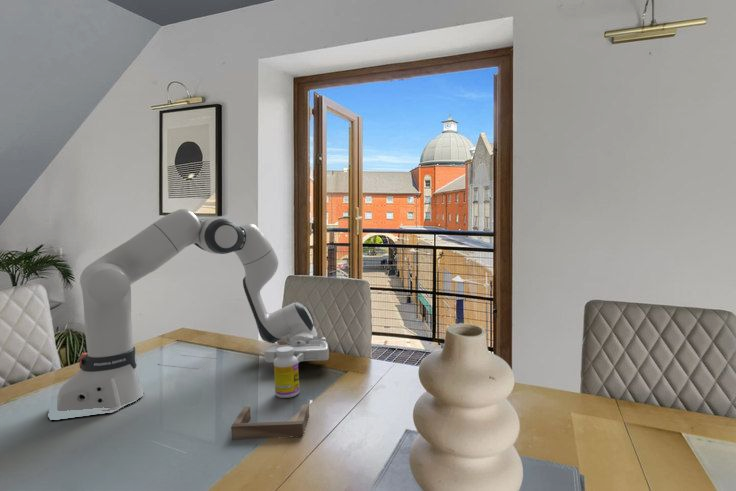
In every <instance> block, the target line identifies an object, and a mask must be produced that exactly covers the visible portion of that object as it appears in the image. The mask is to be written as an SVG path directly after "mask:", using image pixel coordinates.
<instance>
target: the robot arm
mask: <svg viewBox="0 0 736 491" xmlns="http://www.w3.org/2000/svg"><path fill="white" fill-rule="evenodd" d="M191 245H195V246H196V247H197V248H199V249H200V250H203V251H206V252H208V253H209V254H210V253H211V254H216V255H217V254H219V255H227V254H230V253H233V252H234V253H235V255H236V256H238V259H239V260H240V262H241V264H242V266H243V268H244V273H245V275H244V277H243V279H242V287H243V290H244V293H245V296H246V299H247V302H248V304H249V307H250V310H251V313H252V315H253V318H254V320H255V324H256V326H257V329H258V330H257V331H258V334H259V336H260V338H261V340H262V341H264V342H266V343H270V344H274V345H271V346H268V348H266V350H265V351H264V352H263V353H264V361H265V363H274V360H275V359H276V358H277V357H278V355H277V349H278V348H280V347H285V346H289V347H293V348H294V353H293V356H295V357H296V358H297V359H298V364H300V363H302V362H315V361H316V362H318V361H319V362H320V361H327V360H329V356H330V355H329V354H330V352H329V343H328V342H327V339H326V337H325V336H318V332H317V329H316V327H315V325H314V324H315V320H314V317H313V315H312V313H311V311H310V309H309V308H308V306H307V305H305V304H303V303H301V302H298V301H294V302H291V303H290V304H287V305H286V306H284V307H282V308H279V309H278V310H275V311H274V312H273V311H272V312H268V311H267V309H266V306H265V304H264V302H263V298H262V296H261V290H262V289H263V288H264V286H265V285H266V284H268V282H269V281H270V280H271V279H272V278H273V276H274V275H275V274H276V272H277V270H278V268H279V260H278V256H277V253H276V252H275V250H274V248H273V247H272V244H271V243H270V241H269V240H268V238H267V236H266V235H265V234H264V232H262V230H261V229H260V228H259V226H257V225H256V224H254V223H244V224H242V225H241V224H240V225H239V224H237V223H235V222H234V221H232V220H230V219H227V218H219V217H210V218H202V219H200V218H199V217H198V216H197V215H196V214H195V213H194V212H193V211H191V210H189V209H186V208H180V209H177V210H175V211H172V212H170V213H168V214H166V215H164V216H162V217H161V218H159V219H158V220H156V221H155V222H153V223H151V224H150V225H149V226H147V227H145V228H144V229H143V230H141V231H140V232H138V233H137V234H136V235H134V236H133V237H131V238H130V239H128V240H127V241H125V242H123V243H122V244H120V245H119V246H117V247H115V248H114V249H112V250H110V251H108V252H107V253H106V254H104V255H102V256H101V257H99V258H97V259H96V260H94V261H93V262H91V263H90V264H88V265H86V267H85V268H84V269H83V271H82V272H81V275H80V278H79V284H80V288H81V292H82V301H83V302H82V303H83V304H82V305H83V315H84V317H83V318H84V331H85V332H84V333H85V341H86V350H87V351H86V352H83V353H81V355H80V356H79V360H78V364H79V365H78V366H79V370H78V371H77V372H76V373H75V374H73V376H71V377H70V378H69V379H68V380H67V381H66V382H64V383H63V384H62V385H61V387H60V389H59V390H58V394H57V399H56V402H57V410H58V411H67V410H69V411H70V410H83V409H93V408H103V407H104V408H110V409H108V410H102V411H110V410H115V409H117V408H119V407H120V406H122V405H124V404H127V403H129V402H132V401H134V400H137V399H138V398H140V397H141V396H142V395H143V392H144V390H143V388H142V385H141V382H140V379H139V375H138V370H137V365H138V358H137V351H136V347H135V346H134V339H133V338H134V337H133V328H132V288H131V287H132V286H131V285H132V284H134V283H136V282H137V281H139V280H140V279H143V278H144V277H145V276H147V275H149V274H151V273H153V272H155V271H156V270H158V269H159V268H160V267H162V266H163V265H164V264H166V263H168V261H170V260H171V259H173V258H174V257H175V256H177V255H178V254H179V253H180V252H182V251H184V250H185V248H187V247H189V246H191ZM290 335H291V337H290V339H289V340H288V342H287V344H275V343H278V342H279V341H281V340H282V339H284V338H286V337H288V336H290Z"/></svg>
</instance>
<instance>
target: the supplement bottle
mask: <svg viewBox="0 0 736 491" xmlns="http://www.w3.org/2000/svg"><path fill="white" fill-rule="evenodd" d="M293 353H294V348H293V347H289V346H285V347H280V348H278V349H277V355H278V357H277V358H276V359H275V360H274V362H273V372H274V392H275V396H276V397H278V398H280V399H289V398H293V397H296V396H297V395H298V394H299V393H300V376H299V363H298V359H297V358H296V357H295V356H293Z"/></svg>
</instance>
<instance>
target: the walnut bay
mask: <svg viewBox="0 0 736 491" xmlns="http://www.w3.org/2000/svg"><path fill="white" fill-rule="evenodd" d="M309 408H310V407H309V404H305V403H304V404H302V405H301V408H300V410H299V413H298V416H297V419H296V420H289V421H265V422H263V421H262V422H260V421H259V422H250V421H251V419H252V418H251V417H252V416H251V407H250V406H243V407H242V409H241V410H240V413H238V416H237V417H236V419H235V420H234V421H233V423H232V424H231V426H230V429H231V430H230V431H231V432H230V433H231V440H251V439H255V440H256V439H278V437H285V438H291V437H290V436H303V437H304V435H305V432H304V431H306V429H305V428H307V425H308V422H307V421H309V419H308V418H310V409H309ZM303 434H304V435H303Z"/></svg>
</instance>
